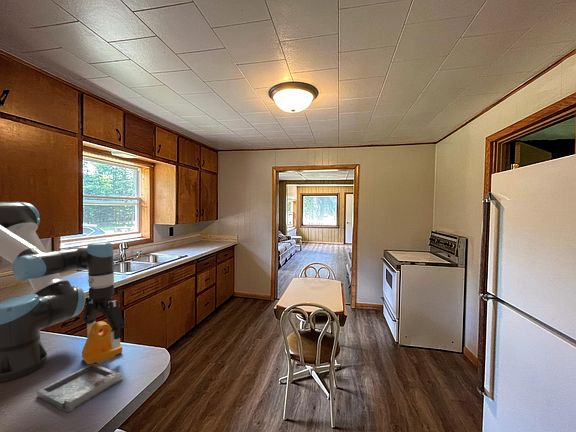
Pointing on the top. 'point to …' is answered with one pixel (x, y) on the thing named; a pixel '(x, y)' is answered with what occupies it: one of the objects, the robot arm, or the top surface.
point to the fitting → (79, 387)
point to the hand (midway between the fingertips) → (103, 343)
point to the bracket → (99, 344)
